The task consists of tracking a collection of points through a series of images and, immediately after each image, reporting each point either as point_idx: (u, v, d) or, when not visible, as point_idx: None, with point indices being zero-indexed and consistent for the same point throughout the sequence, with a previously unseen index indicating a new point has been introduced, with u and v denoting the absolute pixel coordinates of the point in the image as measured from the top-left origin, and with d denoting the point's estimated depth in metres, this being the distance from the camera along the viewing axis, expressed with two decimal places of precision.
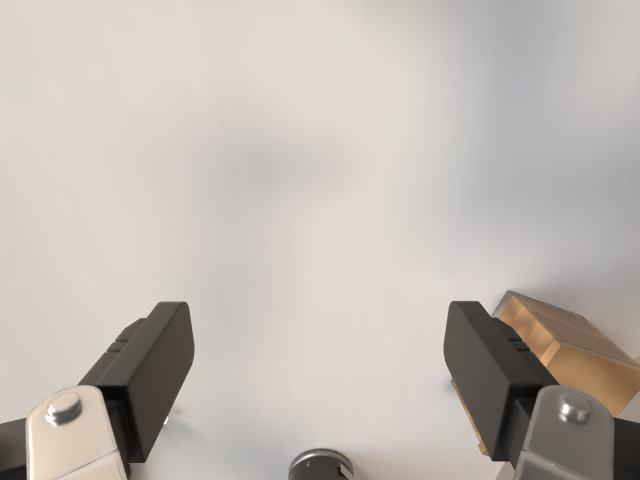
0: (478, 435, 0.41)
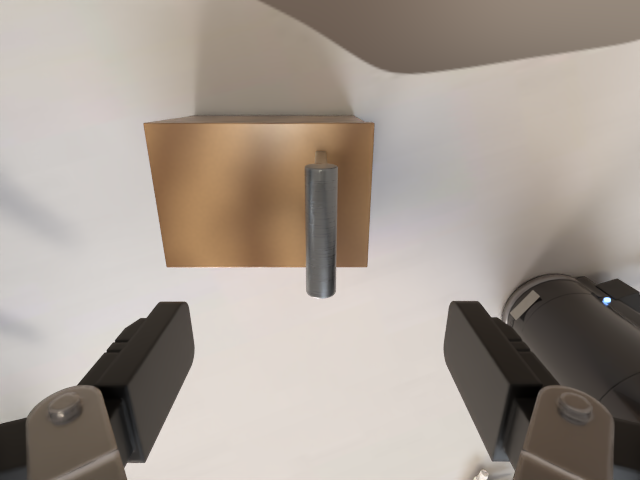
0: None
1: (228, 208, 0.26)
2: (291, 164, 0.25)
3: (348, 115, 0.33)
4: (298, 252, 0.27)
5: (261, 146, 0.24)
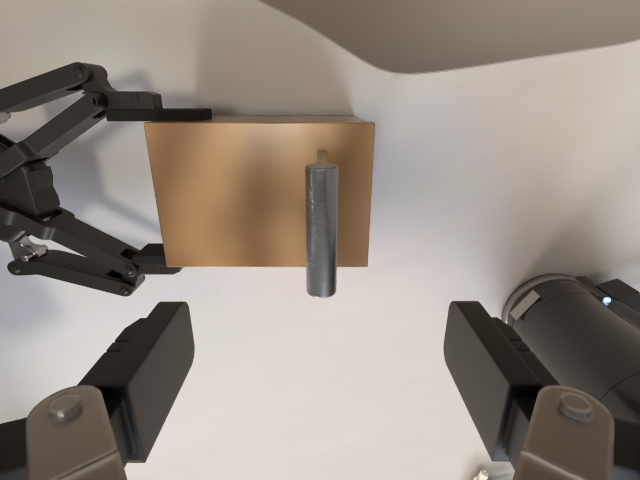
0: None
1: (228, 207, 0.26)
2: (291, 164, 0.25)
3: (348, 115, 0.33)
4: (298, 252, 0.27)
5: (261, 146, 0.24)
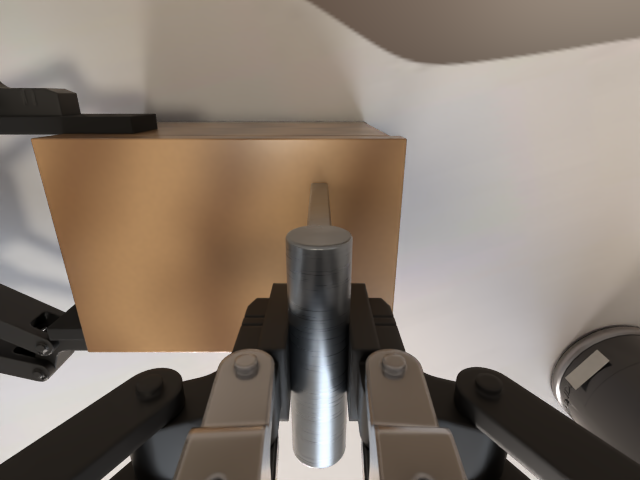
0: None
1: (176, 269, 0.17)
2: (272, 203, 0.16)
3: None
4: None
5: (223, 176, 0.15)
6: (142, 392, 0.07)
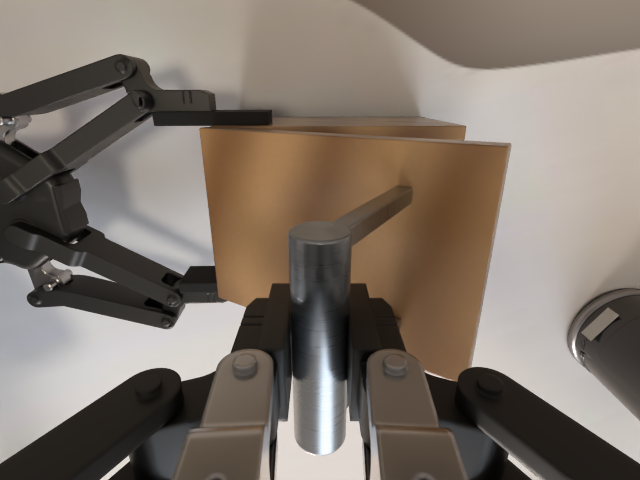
0: None
1: (279, 245, 0.19)
2: (359, 200, 0.16)
3: None
4: None
5: (321, 170, 0.17)
6: (140, 393, 0.07)
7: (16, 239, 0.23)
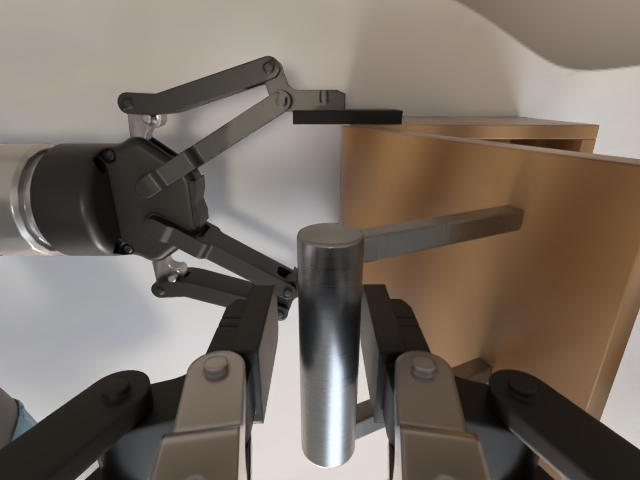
0: None
1: None
2: None
3: None
4: (449, 363, 0.16)
5: (432, 176, 0.15)
6: (108, 396, 0.07)
7: (152, 231, 0.24)
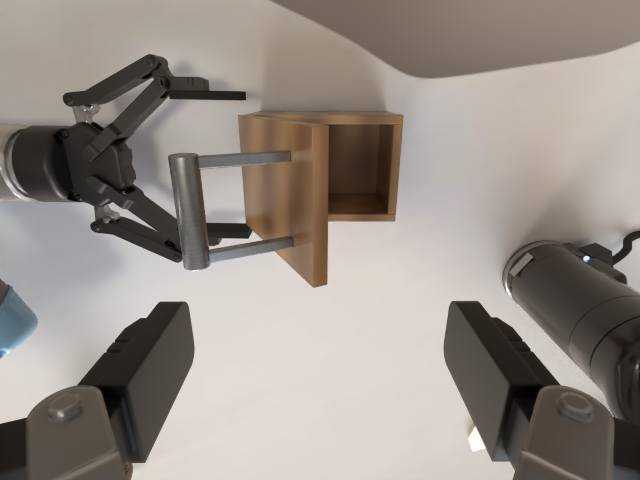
0: None
1: (259, 189, 0.31)
2: None
3: (382, 111, 0.42)
4: None
5: (268, 140, 0.27)
6: None
7: (93, 185, 0.36)
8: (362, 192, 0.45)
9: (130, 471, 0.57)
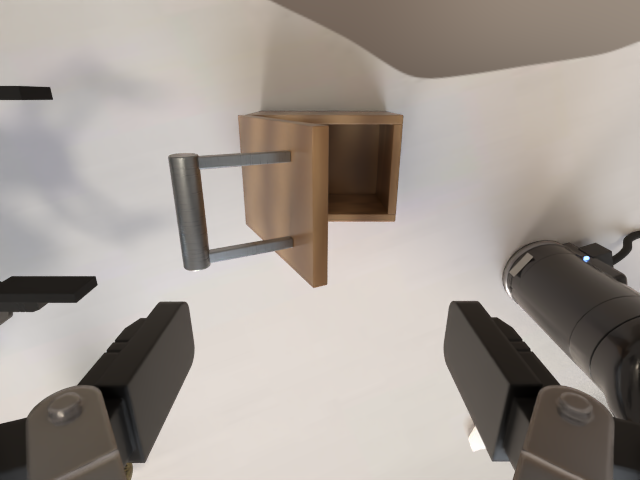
0: None
1: (259, 189, 0.31)
2: None
3: (382, 111, 0.42)
4: None
5: (268, 140, 0.27)
6: None
7: None
8: (362, 192, 0.45)
9: (130, 471, 0.57)
